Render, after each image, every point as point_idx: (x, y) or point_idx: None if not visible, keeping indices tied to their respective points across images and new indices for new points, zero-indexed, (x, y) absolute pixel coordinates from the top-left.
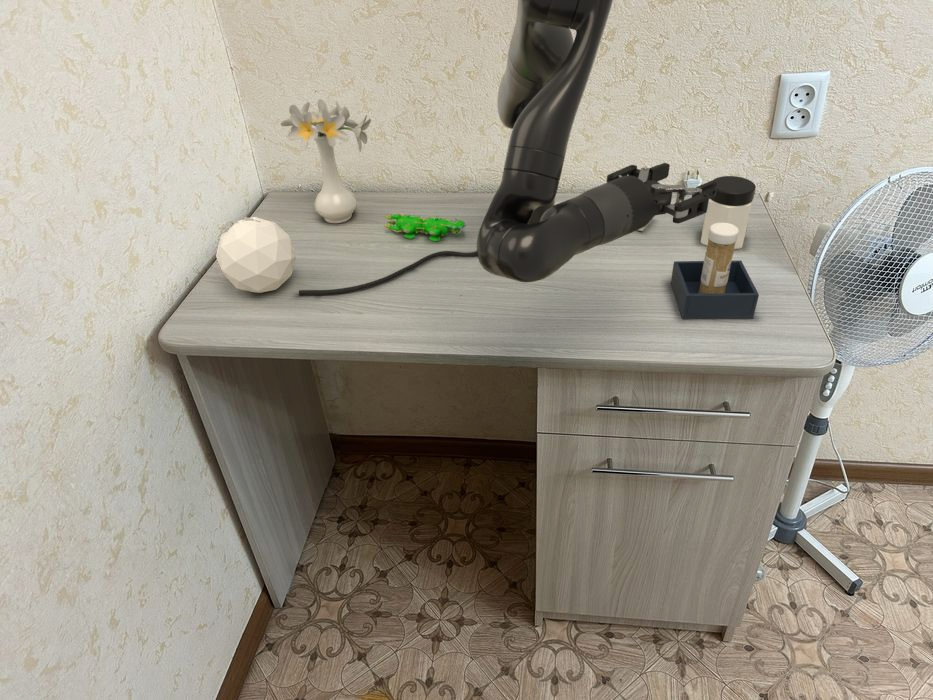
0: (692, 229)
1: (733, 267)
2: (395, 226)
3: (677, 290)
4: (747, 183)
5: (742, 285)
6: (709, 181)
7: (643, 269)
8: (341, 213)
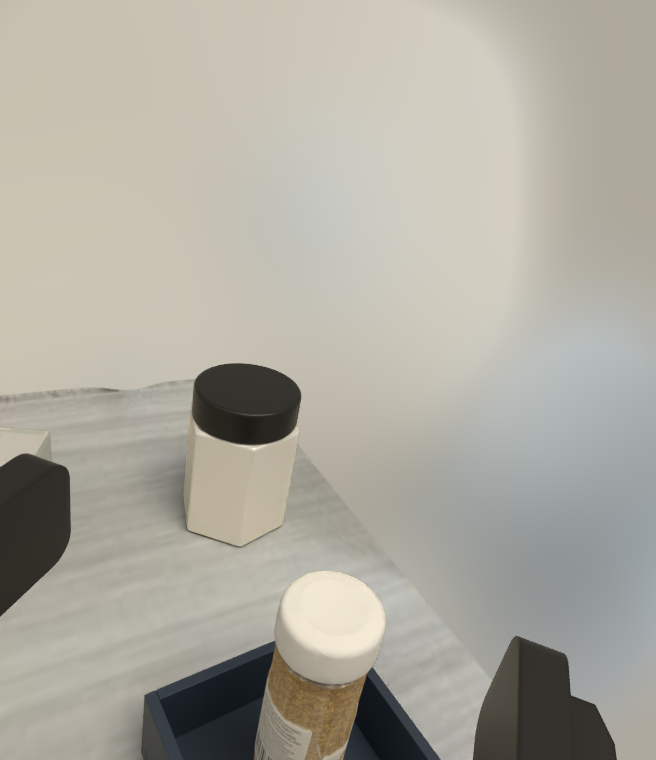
0: (157, 487)
1: None
2: None
3: None
4: (278, 381)
5: (365, 709)
6: (521, 671)
7: (38, 699)
8: None
